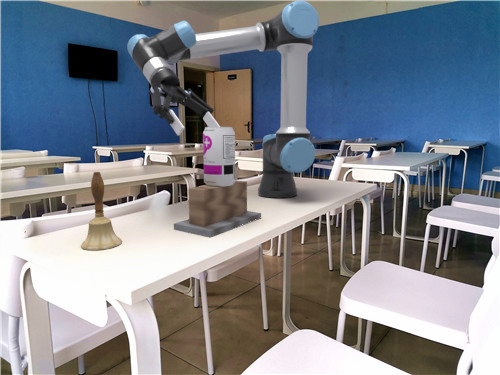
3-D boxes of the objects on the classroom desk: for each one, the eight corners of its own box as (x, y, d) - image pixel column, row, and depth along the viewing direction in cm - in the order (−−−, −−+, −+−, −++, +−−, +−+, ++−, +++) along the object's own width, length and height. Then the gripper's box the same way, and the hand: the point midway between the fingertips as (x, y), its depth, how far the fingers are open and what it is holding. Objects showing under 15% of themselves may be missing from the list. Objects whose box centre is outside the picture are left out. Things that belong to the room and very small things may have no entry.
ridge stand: (227, 212, 106) (227, 178, 104) (261, 218, 99) (261, 181, 97) (173, 229, 88) (172, 188, 86) (209, 237, 81) (209, 192, 80)
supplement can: (207, 187, 87) (205, 126, 85) (202, 183, 95) (200, 127, 92) (238, 186, 89) (238, 126, 87) (231, 181, 97) (230, 127, 95)
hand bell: (75, 244, 76) (69, 172, 74) (112, 236, 82) (108, 169, 80) (89, 253, 71) (83, 175, 68) (128, 244, 76) (124, 172, 74)
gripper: (188, 92, 111) (224, 140, 105) (117, 83, 91) (156, 142, 85) (199, 73, 107) (237, 122, 100) (128, 60, 87) (170, 120, 81)
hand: (200, 131), depth 93 cm, fingers open, 13 cm apart
